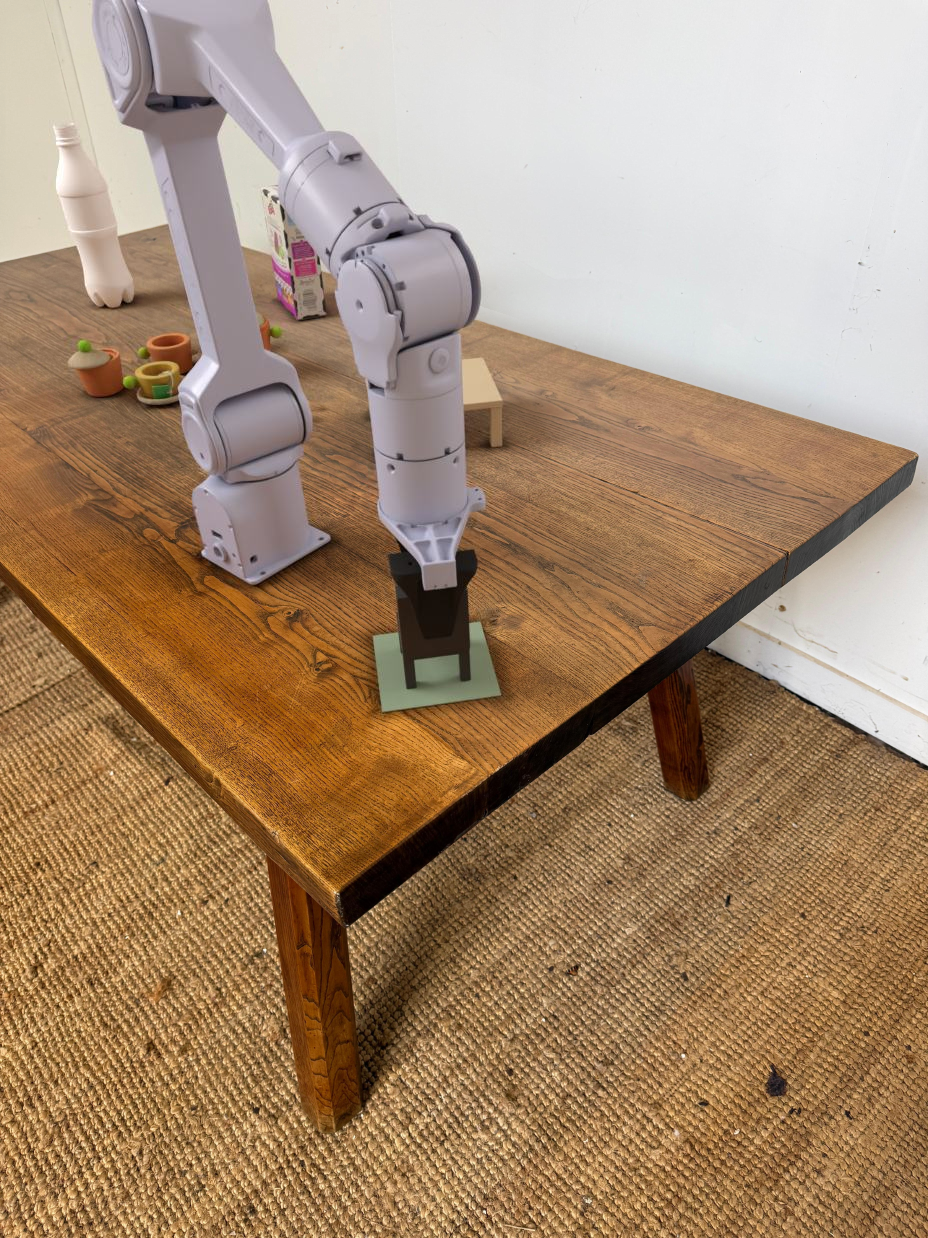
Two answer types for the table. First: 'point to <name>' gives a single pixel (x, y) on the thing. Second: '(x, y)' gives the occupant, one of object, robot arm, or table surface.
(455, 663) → the mat
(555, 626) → the table surface
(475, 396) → the side table
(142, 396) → the toy tea set
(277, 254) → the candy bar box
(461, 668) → the toy chair
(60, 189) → the water bottle
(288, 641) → the table surface
